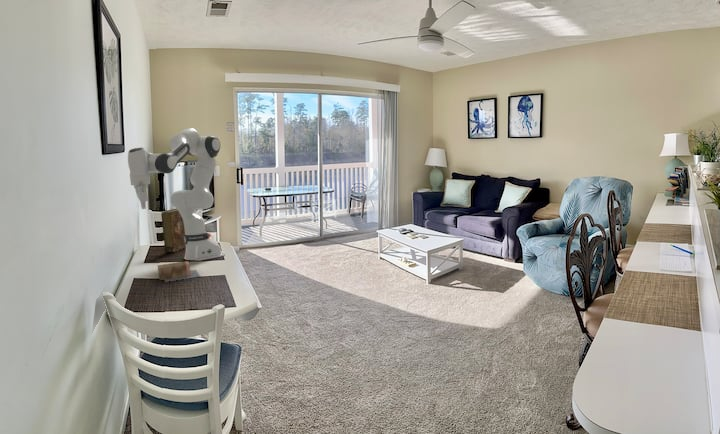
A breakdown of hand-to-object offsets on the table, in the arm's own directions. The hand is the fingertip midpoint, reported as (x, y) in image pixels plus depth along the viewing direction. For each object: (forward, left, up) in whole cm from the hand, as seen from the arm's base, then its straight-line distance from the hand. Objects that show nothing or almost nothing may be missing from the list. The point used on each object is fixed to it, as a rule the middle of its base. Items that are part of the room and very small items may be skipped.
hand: (143, 208), depth 233 cm
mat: (-13, +15, -34) cm, 39 cm away
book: (-18, -49, -34) cm, 62 cm away
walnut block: (-3, +15, -30) cm, 34 cm away
